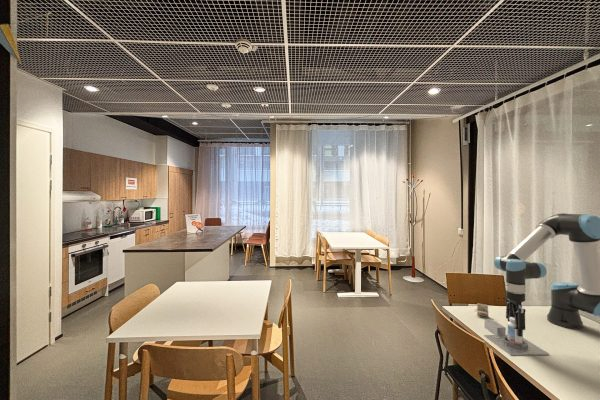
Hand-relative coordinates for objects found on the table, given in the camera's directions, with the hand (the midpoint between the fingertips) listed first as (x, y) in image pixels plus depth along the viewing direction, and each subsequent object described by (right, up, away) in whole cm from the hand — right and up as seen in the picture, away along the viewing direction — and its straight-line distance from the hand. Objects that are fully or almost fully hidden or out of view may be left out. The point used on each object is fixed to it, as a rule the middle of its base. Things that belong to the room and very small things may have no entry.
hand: (515, 338), depth 138 cm
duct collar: (0, -3, +5) cm, 6 cm away
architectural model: (+6, -4, +34) cm, 35 cm away
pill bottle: (0, -2, 0) cm, 2 cm away
